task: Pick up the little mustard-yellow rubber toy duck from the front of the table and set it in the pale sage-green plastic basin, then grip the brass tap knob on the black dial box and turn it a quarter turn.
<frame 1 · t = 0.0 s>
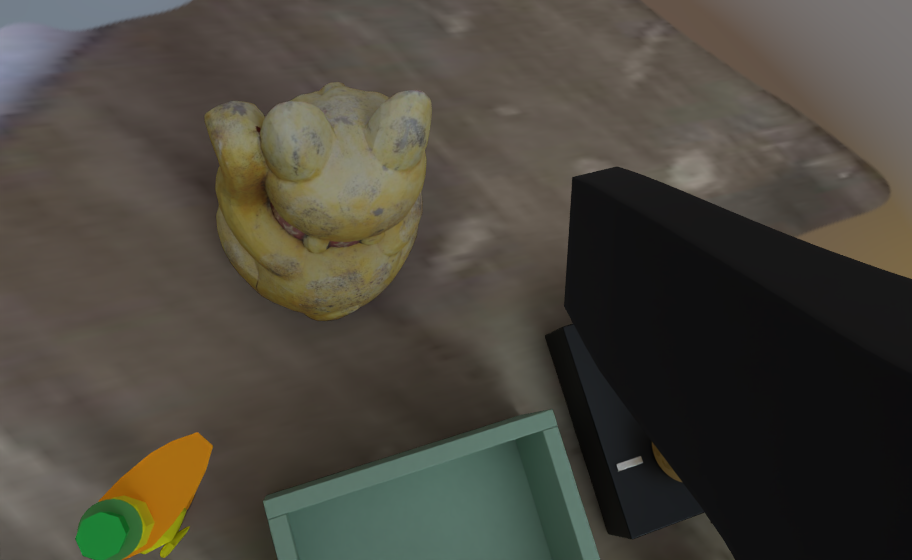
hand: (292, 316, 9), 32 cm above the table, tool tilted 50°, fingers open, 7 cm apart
decorative figurine: (320, 253, 42), on the table
toy figure: (172, 498, 38), on the table
black dial box: (648, 409, 44), on the table
tap knob: (706, 442, 39), point 5 cm above the table, hinge at 0.0°
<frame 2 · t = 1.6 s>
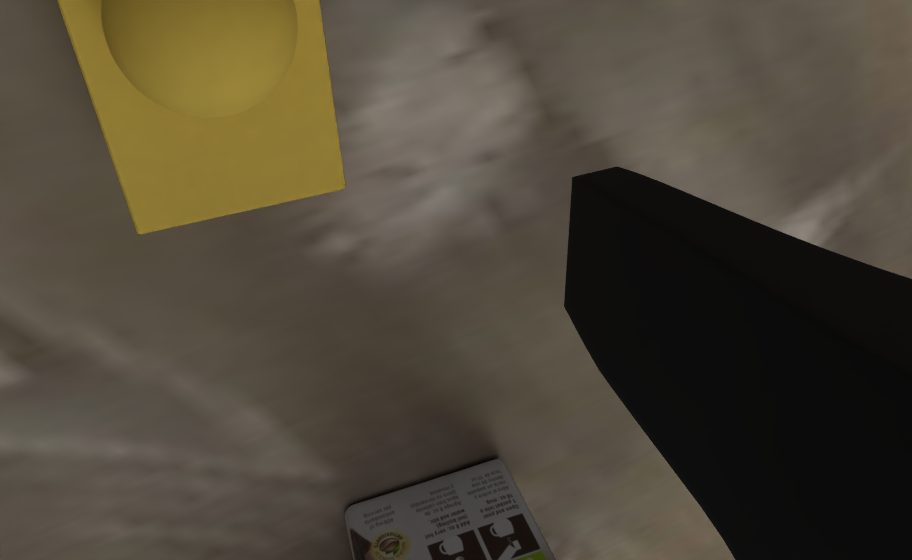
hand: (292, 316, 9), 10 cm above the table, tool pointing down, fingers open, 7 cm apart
coffee box: (427, 546, 32), on the table
toy duck: (194, 20, 17), on the table
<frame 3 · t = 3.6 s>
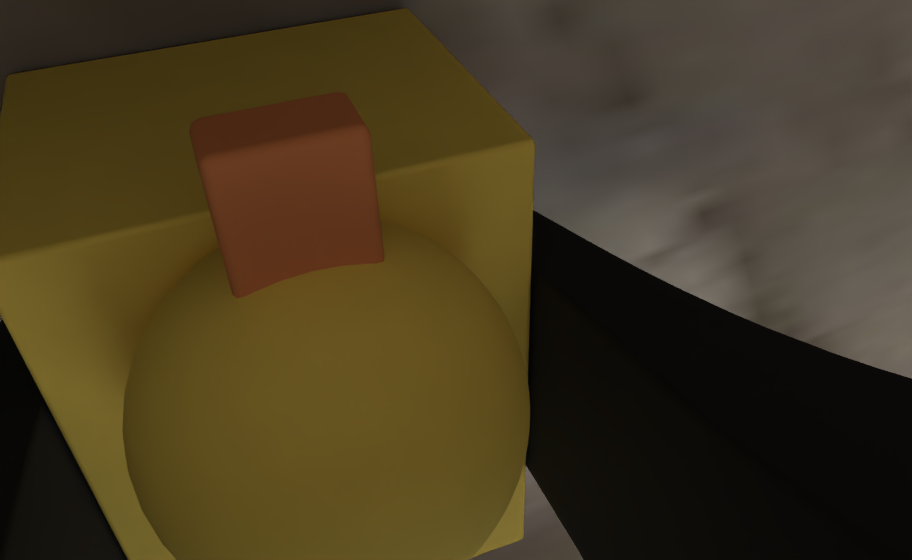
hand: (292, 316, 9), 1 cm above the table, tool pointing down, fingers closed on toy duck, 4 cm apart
toy duck: (267, 250, 10), on the table, touching gripper
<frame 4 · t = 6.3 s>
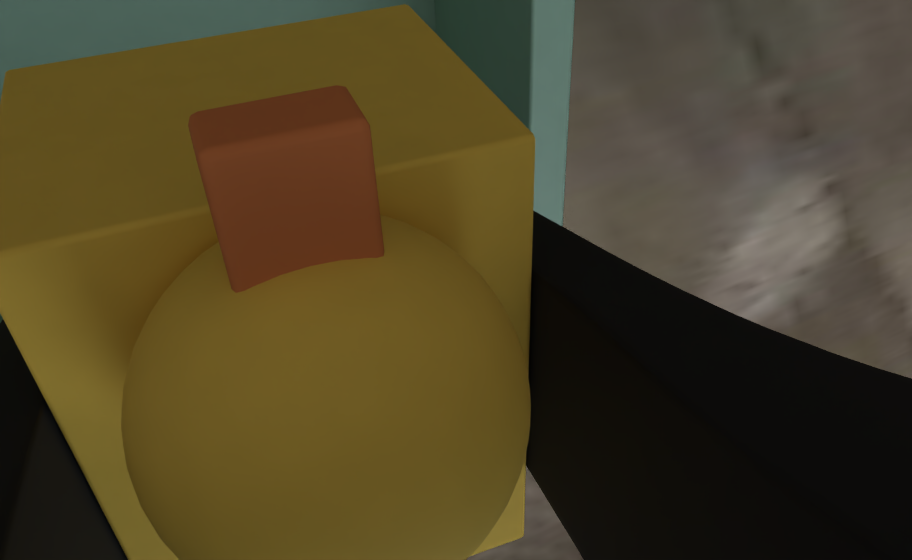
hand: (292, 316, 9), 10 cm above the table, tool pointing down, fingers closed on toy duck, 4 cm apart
basin: (138, 5, 16), on the table
toy duck: (267, 247, 10), point 8 cm above the table, touching gripper
when the fingers open (2 cm above the table, at t = 9.0 s): toy duck stays where it is, resting on basin.
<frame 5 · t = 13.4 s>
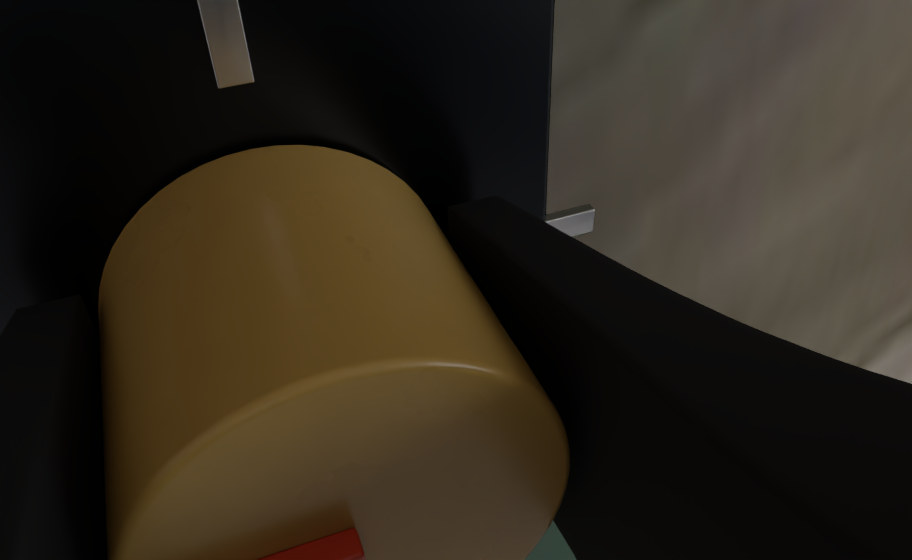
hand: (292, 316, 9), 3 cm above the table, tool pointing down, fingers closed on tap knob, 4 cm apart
black dial box: (99, 203, 11), on the table
tap knob: (319, 408, 8), point 5 cm above the table, hinge at -0.2°, touching gripper
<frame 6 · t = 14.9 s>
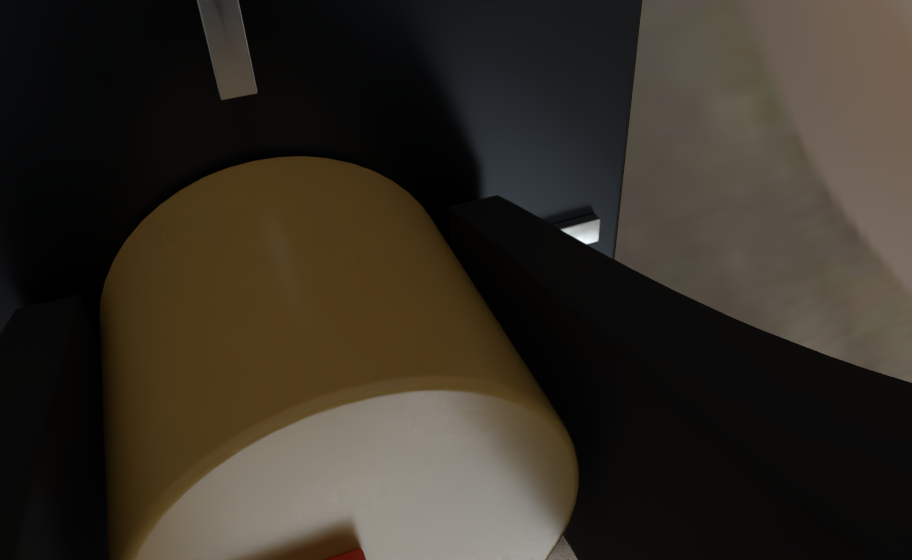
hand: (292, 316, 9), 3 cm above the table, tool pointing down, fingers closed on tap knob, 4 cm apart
black dial box: (213, 50, 10), on the table
tap knob: (324, 423, 8), point 5 cm above the table, hinge at 90.0°, touching gripper
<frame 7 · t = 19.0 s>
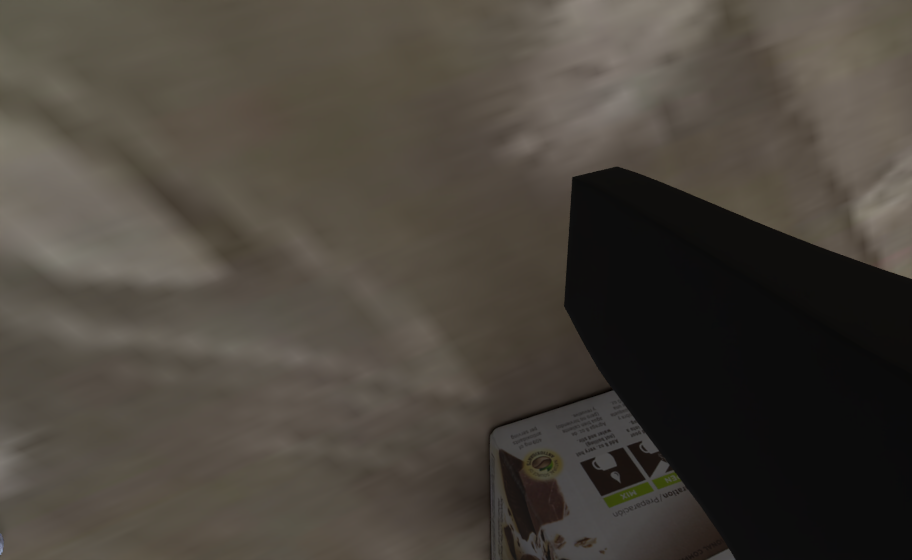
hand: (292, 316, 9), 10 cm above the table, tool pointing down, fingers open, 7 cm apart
coffee box: (555, 477, 32), on the table
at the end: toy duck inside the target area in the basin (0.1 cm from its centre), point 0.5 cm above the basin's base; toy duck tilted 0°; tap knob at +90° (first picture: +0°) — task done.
